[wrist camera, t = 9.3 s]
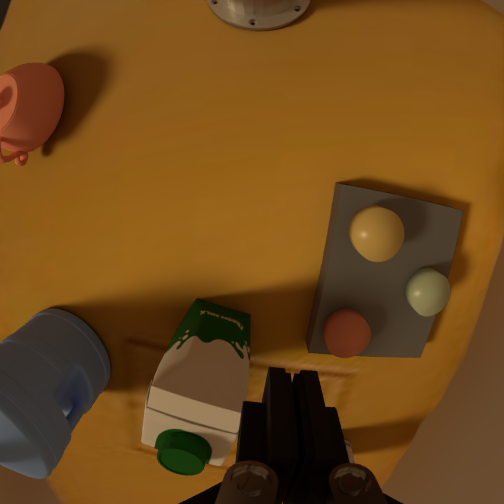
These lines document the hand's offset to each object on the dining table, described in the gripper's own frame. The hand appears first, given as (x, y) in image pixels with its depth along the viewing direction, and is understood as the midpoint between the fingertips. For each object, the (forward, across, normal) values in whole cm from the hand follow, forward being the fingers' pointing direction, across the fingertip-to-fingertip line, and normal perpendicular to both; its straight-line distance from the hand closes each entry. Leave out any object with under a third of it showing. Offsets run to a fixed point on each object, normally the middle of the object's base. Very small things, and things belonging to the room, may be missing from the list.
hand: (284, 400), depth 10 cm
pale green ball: (+26, -19, +3) cm, 33 cm away
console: (+27, -14, +3) cm, 31 cm away
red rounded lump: (+26, -10, +9) cm, 30 cm away
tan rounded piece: (+25, -10, -3) cm, 27 cm away
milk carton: (+27, +5, +13) cm, 31 cm away
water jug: (+27, +28, +22) cm, 45 cm away
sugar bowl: (+27, +33, -13) cm, 45 cm away
